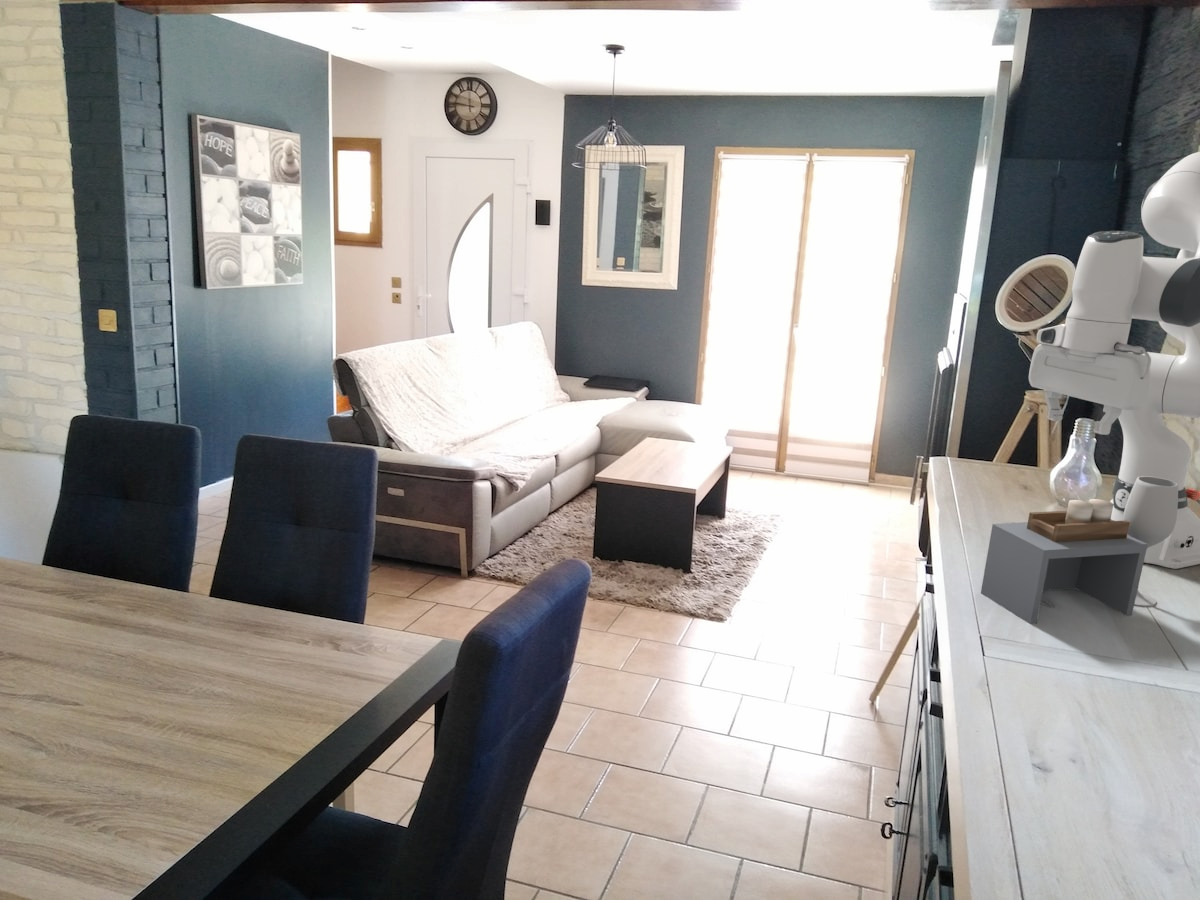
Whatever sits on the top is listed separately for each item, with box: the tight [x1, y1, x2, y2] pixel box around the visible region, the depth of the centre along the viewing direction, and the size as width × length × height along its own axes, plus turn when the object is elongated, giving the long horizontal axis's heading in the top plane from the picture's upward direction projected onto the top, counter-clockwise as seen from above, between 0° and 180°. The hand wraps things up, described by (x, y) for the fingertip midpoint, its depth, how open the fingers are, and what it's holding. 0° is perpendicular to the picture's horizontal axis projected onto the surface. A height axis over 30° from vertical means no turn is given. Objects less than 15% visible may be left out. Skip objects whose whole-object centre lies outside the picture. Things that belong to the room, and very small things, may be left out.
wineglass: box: [1123, 476, 1178, 608], centre depth 152 cm, size 8×8×21 cm
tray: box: [1027, 498, 1130, 543], centre depth 147 cm, size 6×14×5 cm, turn 105°
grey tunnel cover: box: [980, 521, 1148, 625], centre depth 149 cm, size 20×12×12 cm, turn 105°
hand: (1076, 426), depth 141 cm, fingers open, 8 cm apart
